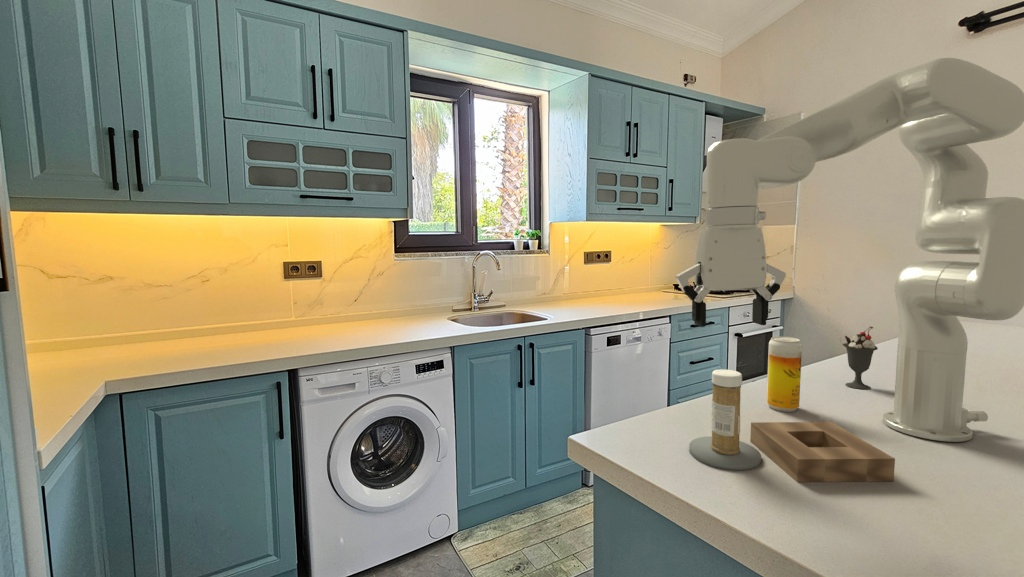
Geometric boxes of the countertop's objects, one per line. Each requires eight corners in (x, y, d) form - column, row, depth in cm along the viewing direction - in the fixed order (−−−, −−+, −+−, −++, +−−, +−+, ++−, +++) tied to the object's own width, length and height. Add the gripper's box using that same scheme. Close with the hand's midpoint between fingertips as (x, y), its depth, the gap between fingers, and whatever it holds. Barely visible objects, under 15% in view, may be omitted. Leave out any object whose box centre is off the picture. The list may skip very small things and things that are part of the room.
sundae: (882, 390, 110) (886, 328, 109) (853, 390, 110) (857, 328, 109) (861, 382, 117) (865, 323, 115) (834, 382, 117) (838, 323, 115)
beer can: (798, 414, 96) (802, 343, 94) (765, 409, 99) (768, 340, 98) (799, 405, 101) (802, 337, 100) (767, 401, 104) (769, 335, 103)
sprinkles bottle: (745, 451, 78) (748, 372, 77) (729, 458, 75) (731, 377, 74) (720, 441, 82) (722, 366, 80) (704, 448, 79) (706, 371, 78)
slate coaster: (741, 440, 84) (741, 436, 84) (774, 470, 73) (774, 465, 73) (680, 440, 84) (680, 436, 84) (703, 470, 73) (704, 465, 73)
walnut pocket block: (830, 440, 83) (831, 421, 83) (893, 481, 69) (895, 458, 69) (750, 441, 84) (750, 422, 83) (797, 481, 69) (798, 459, 69)
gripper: (772, 219, 78) (770, 319, 80) (669, 222, 79) (669, 322, 80) (799, 216, 71) (796, 327, 73) (685, 220, 71) (684, 330, 73)
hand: (729, 324), depth 77 cm, fingers open, 9 cm apart
